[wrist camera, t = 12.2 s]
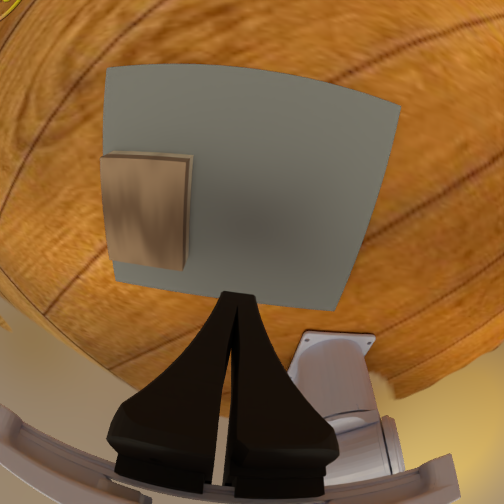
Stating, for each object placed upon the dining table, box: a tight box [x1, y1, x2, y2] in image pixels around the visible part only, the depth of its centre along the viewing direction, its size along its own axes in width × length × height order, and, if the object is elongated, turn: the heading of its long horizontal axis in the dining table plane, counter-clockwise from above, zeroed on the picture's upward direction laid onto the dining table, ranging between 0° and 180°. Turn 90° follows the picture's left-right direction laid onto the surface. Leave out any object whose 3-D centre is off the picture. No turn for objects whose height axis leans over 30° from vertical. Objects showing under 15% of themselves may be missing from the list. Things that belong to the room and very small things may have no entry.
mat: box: [103, 64, 401, 311], centre depth 19 cm, size 18×20×1 cm
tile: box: [100, 151, 193, 272], centre depth 19 cm, size 8×2×6 cm
